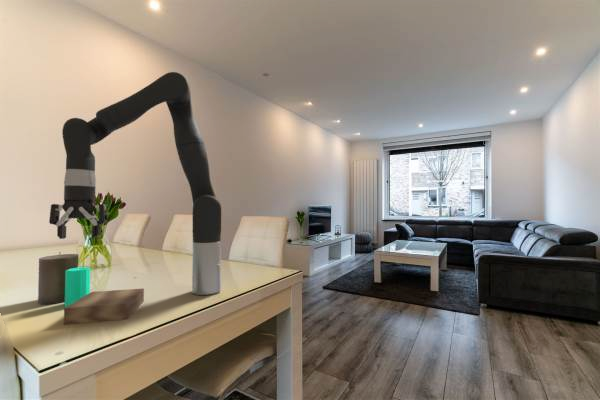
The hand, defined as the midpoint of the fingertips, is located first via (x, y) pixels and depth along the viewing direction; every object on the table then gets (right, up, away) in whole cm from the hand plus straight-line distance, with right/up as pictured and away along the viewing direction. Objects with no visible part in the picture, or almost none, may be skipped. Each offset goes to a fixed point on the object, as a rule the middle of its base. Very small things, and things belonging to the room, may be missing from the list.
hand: (78, 238), depth 84 cm
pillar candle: (-9, -20, +3) cm, 22 cm away
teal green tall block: (0, -20, -1) cm, 20 cm away
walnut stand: (+14, -20, -7) cm, 25 cm away
